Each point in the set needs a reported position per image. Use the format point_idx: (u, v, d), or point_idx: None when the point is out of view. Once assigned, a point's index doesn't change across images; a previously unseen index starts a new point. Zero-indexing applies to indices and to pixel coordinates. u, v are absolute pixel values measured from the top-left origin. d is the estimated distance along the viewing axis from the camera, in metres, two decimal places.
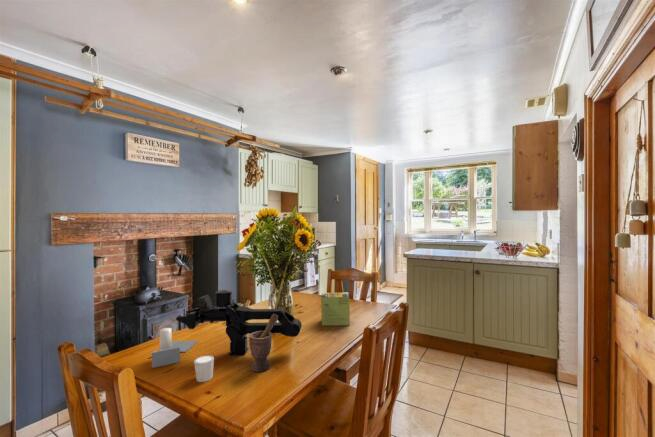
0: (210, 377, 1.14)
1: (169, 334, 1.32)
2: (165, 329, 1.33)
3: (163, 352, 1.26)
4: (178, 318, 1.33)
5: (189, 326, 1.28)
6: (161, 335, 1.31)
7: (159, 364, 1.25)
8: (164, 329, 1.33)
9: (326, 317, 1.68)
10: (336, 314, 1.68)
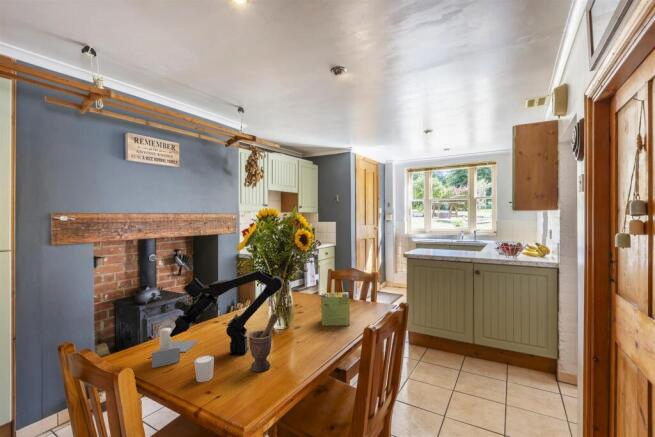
0: (210, 377, 1.14)
1: (169, 334, 1.32)
2: (165, 329, 1.33)
3: (163, 352, 1.26)
4: (171, 334, 1.28)
5: (184, 328, 1.25)
6: (161, 335, 1.31)
7: (159, 364, 1.25)
8: (164, 329, 1.33)
9: (326, 317, 1.68)
10: (336, 314, 1.68)
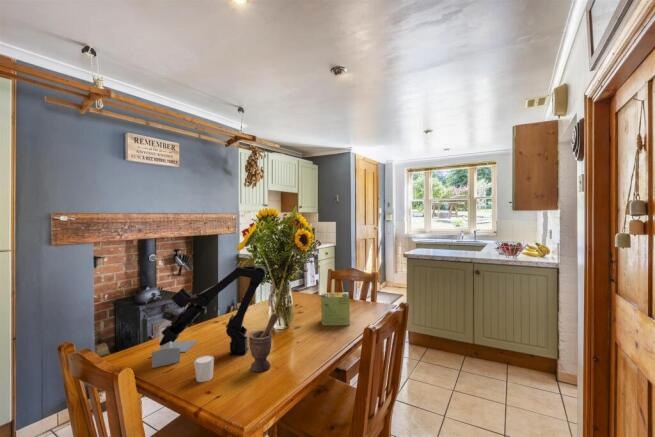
0: (210, 377, 1.14)
1: None
2: None
3: (163, 352, 1.26)
4: (161, 342, 1.30)
5: (171, 339, 1.24)
6: (161, 335, 1.31)
7: (159, 364, 1.25)
8: None
9: (326, 317, 1.68)
10: (336, 314, 1.68)
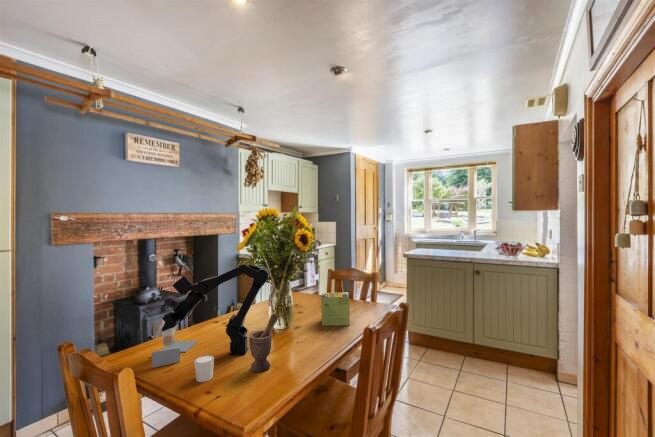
0: (210, 377, 1.14)
1: None
2: None
3: (163, 352, 1.26)
4: (163, 328, 1.33)
5: (171, 325, 1.27)
6: (163, 321, 1.33)
7: (159, 364, 1.25)
8: None
9: (326, 317, 1.68)
10: (336, 314, 1.68)
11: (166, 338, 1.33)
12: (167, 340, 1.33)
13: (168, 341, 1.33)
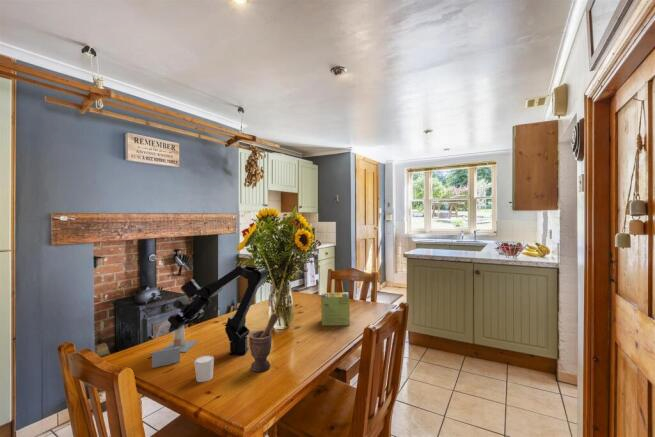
0: (210, 377, 1.14)
1: None
2: None
3: (163, 352, 1.26)
4: (169, 330, 1.39)
5: (174, 326, 1.34)
6: None
7: (159, 364, 1.25)
8: None
9: (326, 317, 1.68)
10: (336, 314, 1.68)
11: (176, 341, 1.41)
12: (176, 343, 1.41)
13: (177, 344, 1.41)
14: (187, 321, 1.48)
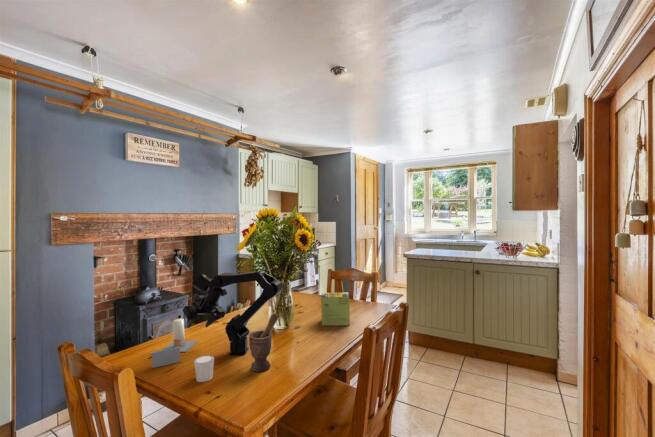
0: (210, 377, 1.14)
1: (180, 325, 1.42)
2: (178, 320, 1.44)
3: (163, 352, 1.26)
4: (187, 325, 1.38)
5: (186, 315, 1.32)
6: (173, 325, 1.42)
7: (159, 364, 1.25)
8: (177, 319, 1.44)
9: (326, 317, 1.68)
10: (336, 314, 1.68)
11: (175, 341, 1.41)
12: (176, 343, 1.41)
13: (177, 344, 1.41)
14: (209, 322, 1.45)
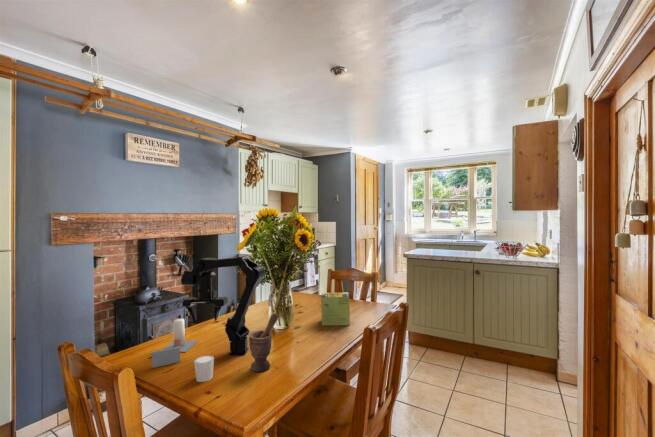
0: (210, 377, 1.14)
1: (181, 325, 1.42)
2: (179, 320, 1.44)
3: (163, 352, 1.26)
4: None
5: None
6: (174, 325, 1.42)
7: (159, 364, 1.25)
8: (178, 319, 1.44)
9: (326, 317, 1.68)
10: (336, 314, 1.68)
11: (176, 341, 1.41)
12: (176, 343, 1.41)
13: (177, 344, 1.41)
14: None
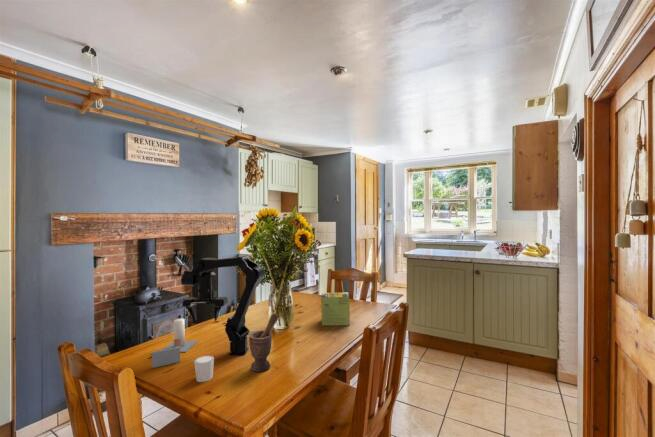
0: (210, 377, 1.14)
1: (181, 324, 1.42)
2: (179, 319, 1.44)
3: (163, 352, 1.26)
4: None
5: None
6: (174, 324, 1.42)
7: (159, 364, 1.25)
8: (178, 319, 1.44)
9: (326, 317, 1.68)
10: (336, 314, 1.68)
11: (176, 341, 1.41)
12: (177, 343, 1.41)
13: (177, 344, 1.41)
14: None
